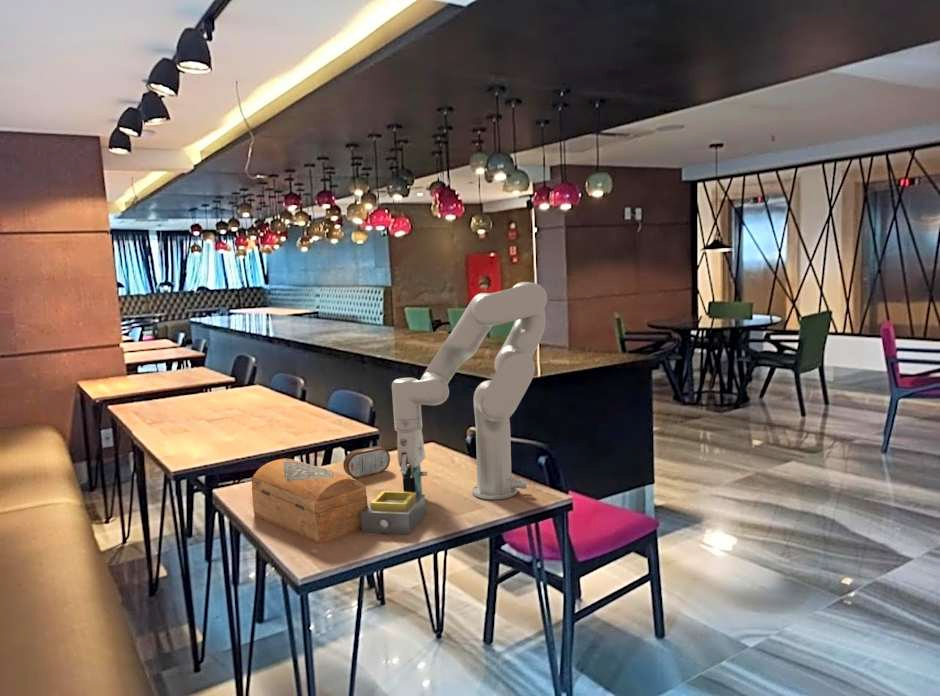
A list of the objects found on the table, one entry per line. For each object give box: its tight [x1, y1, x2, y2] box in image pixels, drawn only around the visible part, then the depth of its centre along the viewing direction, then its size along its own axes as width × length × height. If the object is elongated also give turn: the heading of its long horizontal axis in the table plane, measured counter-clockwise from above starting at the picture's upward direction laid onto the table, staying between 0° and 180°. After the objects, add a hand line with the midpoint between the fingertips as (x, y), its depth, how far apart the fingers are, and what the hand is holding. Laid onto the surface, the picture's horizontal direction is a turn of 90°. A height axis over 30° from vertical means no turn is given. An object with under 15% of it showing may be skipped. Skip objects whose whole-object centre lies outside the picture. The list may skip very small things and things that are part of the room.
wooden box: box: [251, 458, 369, 544], centre depth 175 cm, size 30×16×14 cm, turn 46°
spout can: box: [407, 464, 428, 495], centre depth 188 cm, size 7×5×8 cm
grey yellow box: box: [361, 490, 426, 535], centre depth 171 cm, size 12×16×6 cm
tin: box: [343, 445, 391, 479], centre depth 212 cm, size 15×3×8 cm, turn 125°
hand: (412, 487), depth 189 cm, fingers closed on spout can, 5 cm apart
